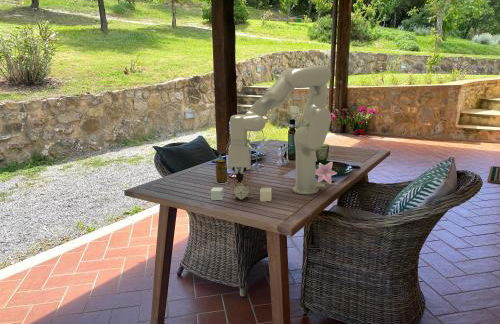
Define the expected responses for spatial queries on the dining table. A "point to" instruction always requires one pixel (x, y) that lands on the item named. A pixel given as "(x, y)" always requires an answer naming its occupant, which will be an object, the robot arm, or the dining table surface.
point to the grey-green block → (217, 194)
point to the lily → (325, 172)
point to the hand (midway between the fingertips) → (239, 181)
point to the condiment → (221, 171)
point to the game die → (241, 191)
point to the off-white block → (265, 194)
